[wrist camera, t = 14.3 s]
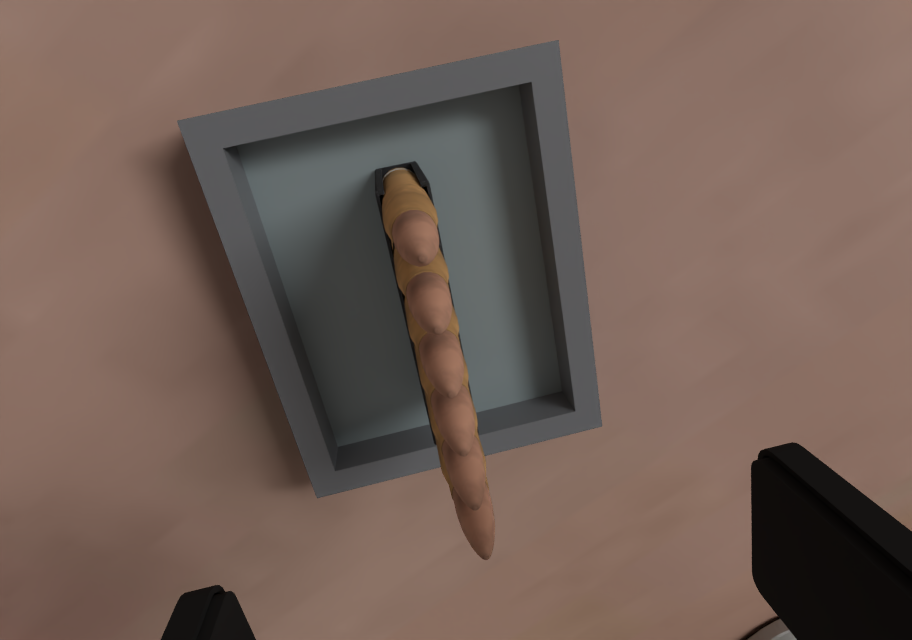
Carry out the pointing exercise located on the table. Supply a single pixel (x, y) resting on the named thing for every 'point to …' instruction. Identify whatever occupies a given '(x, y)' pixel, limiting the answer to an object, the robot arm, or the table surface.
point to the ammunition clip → (436, 343)
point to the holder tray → (369, 265)
